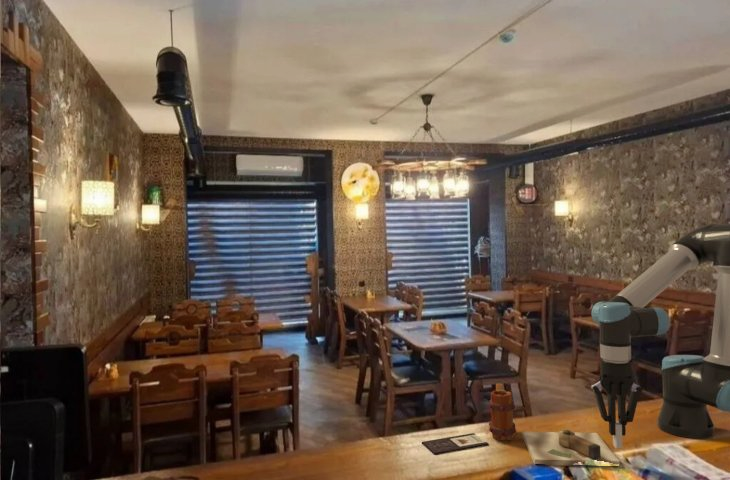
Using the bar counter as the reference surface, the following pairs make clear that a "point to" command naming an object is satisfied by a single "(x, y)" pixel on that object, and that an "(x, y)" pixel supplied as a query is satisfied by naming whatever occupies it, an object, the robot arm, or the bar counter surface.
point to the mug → (502, 414)
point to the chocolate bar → (454, 443)
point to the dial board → (563, 449)
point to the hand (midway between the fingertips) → (617, 446)
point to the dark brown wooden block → (579, 444)
